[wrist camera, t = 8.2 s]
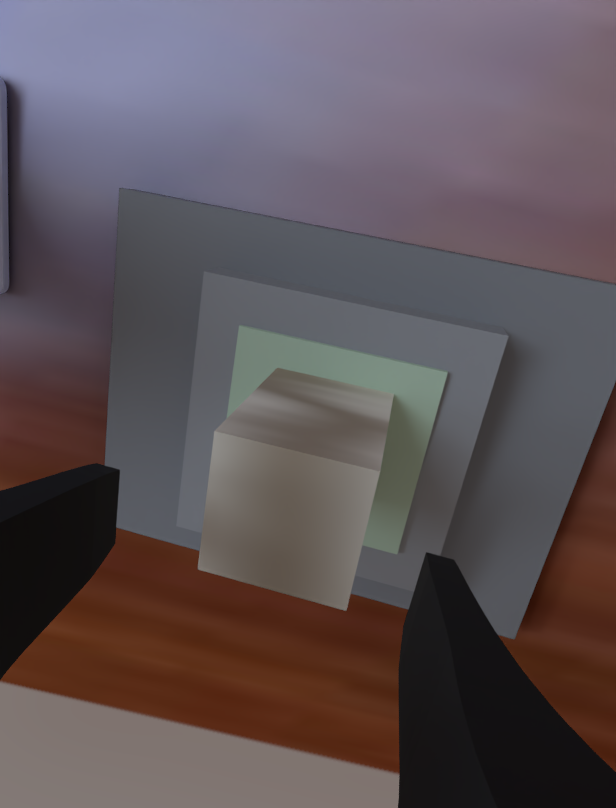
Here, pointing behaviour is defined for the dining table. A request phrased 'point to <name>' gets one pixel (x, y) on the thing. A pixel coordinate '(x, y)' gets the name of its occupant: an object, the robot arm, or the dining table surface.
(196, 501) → the stepped stand
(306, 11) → the dining table surface
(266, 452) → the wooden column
